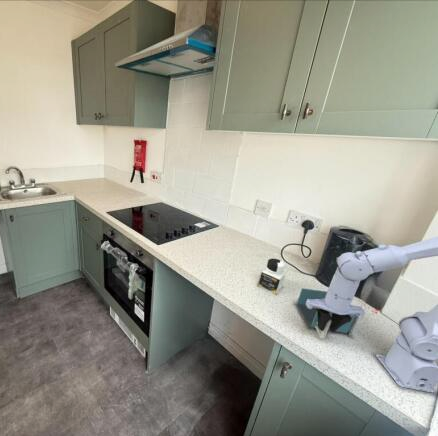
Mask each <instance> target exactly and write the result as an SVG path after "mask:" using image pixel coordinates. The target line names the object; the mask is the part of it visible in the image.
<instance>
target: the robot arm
mask: <svg viewBox="0 0 438 436" xmlns="http://www.w3.org/2000/svg"><path fill="white" fill-rule="evenodd" d="M433 257H438V236H434V237H431V238H427V239H424V240H421V241H417V242H414V243H411V244H407V245H404V246H397V245H394V244H388V245H386V244H384V243H383V244H382V243H381V244H379V245H378V246H377V247H375V248H372V249H367V250H363V251H361V250H358V251H356V252H351V251H350V252H344V253H342V254H340V256H338V257H336V264H337V267H336V270H335V273H334V274H333V276H332V279H331V281H330V284H329V286H328V289H327V291H326V292H327V294H326V297H325V298H324V299H307V301H306V306H307V307H308V309H312V308H316V310H317V315H318V327H319V329H320V330H321V331H323V330H324V329H325V326H326V324H327V323H328V321H329V320H330V319H331V324H330V327H329V329H330V331H331V332H330V333H333V334H334V333H335V331H336V330H337V329H338V328H339V327H341V326H342V325H344V324H345V323H348V322H351V320H352V318H351V317H350V314H357V316H359V317H361V318H362V317H364V316H365V315H366V310H364V308H363V307H362V306H358V305H354V304H352V302H353V299H354V297H355V295H356V292H357V290H358V288H359V286H360V283H361V281H364V280H366V279H367V278H368V277H369V276H370V275H373V274H374V273H379V272H385V271H389V270H394V269H399V268H404V267H405V266H406V265H407V263H408V262H409V261H415V260H420V259H426V258H427V259H428V258H433ZM329 311H330V312H333V313H332V317H331V316H330V314H329V313H330V312H329ZM397 324H398V328H399V330H400V331H399V334H398V335H397V336H396V338H395V340H394V342H393V343H392V345H391V346H390V349H389V351H388V352H387V354H386V355H385V354H379V353H377V354H375V357H376V359H378V361H379V362H380V363H381V365H382V366H383V367H384V368H385V369H386V371H387V373H389V375H390V376H391V378H392V379H393V380H394V381H395V382H396V384H397V385H398V386H399V387H401V388H406V389H412V390H415V391H416V390H417V391H422V392H427V393H432V394H433V393H434V394H435V390H434V388H435V387H436V385H437V383H438V364H437V361H438V304H436V305H435V306H434V307H433V308H431V309H430V310H429V311H416V312H414V313H413V314H412V315H408V316H404V317H402V318H401V319H400V320H399V321H398V323H397Z"/></svg>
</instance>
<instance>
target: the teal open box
mask: <svg viewBox="0 0 438 436" xmlns="http://www.w3.org/2000/svg"><path fill="white" fill-rule="evenodd" d="M326 294H327V291H324V290H318V289H310V288H303V287H302V288H301V289H300V292H299V295H298V299H297V301H296V304H295V306H296V307H297V310H298V311H299V313H300V316H301V317H302V319H303V321H304V322H305V324H306V326H307V328H308V329H311V330H316V328H314V327H311V325H312V322H313V320H314V317H315V315H316V312H317V310H316V308H312V309H308V307H307V306H306V301H307V299H324V298H325V297H326ZM354 315H355V317H354V319H353V321H352V323H351V326H350V328H349V330H348V332H347V333H344V332H338V331H335V332H334V333H336V334H342V335H347V337H351V335H352V333H353V331H354V329H355V326H356V324H357V323H358V320H359V317H360V316H358V315H357V314H354ZM327 332H329V333H332V332H331V331H330V330H328V331H327Z"/></svg>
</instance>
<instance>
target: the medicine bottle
mask: <svg viewBox="0 0 438 436" xmlns="http://www.w3.org/2000/svg"><path fill="white" fill-rule="evenodd" d="M285 267H286V264H285V262H284V261H283V260H280V259H278V258H269V259H268V260H267V264H266V267H264V269H262V271H261V273H260V277H259V280H258V286H259V287H261V288H263V289H265V290H267V291H269V292H271V293H273V294H277V293H278V292H279V290H280V289H281V288H282V287H283V284H284V281H285V278H286V274H287V272H286V271H284V270H285Z"/></svg>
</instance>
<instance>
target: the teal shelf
mask: <svg viewBox="0 0 438 436" xmlns="http://www.w3.org/2000/svg"><path fill="white" fill-rule="evenodd" d="M329 312H330V311H329ZM332 313H333V312H330V313H329V314H330V316H331V317H332ZM350 317H351V318H352V320H351V322H348V323H345V324H344V325H342V326H341V327H339V328H338V329H337V330H336V331H338V332H344V333H347V332H348V330H349V328H350V326H351V323H352V321H353V319H354V317H355V315H354V314H350ZM330 324H331V319H330V320H329V321H328V323H327V324H326V326H325V329H324V330H323V331H321V330H320V329H319V327H318V315H317V312H316V315H315V317H314V320H313V322H312V325H311V327H314V328H316V329H315V330H316V331H317V333H318V335H319V338H320V339H321V340H325V339H326V336H327V333H328V332H329V331H328V330H330V329H329V327H330Z"/></svg>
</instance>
